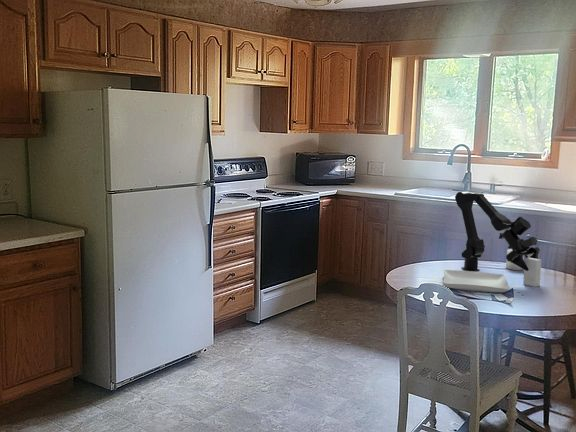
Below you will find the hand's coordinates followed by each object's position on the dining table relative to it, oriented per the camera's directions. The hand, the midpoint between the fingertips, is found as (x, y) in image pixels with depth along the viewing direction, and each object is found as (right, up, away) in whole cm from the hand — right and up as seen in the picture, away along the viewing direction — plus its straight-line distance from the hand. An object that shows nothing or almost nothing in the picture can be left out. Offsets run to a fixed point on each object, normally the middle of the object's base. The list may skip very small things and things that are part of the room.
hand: (533, 269), depth 266 cm
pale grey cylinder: (+5, -3, +35) cm, 35 cm away
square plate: (-27, -8, -1) cm, 28 cm away
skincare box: (-1, -7, +2) cm, 8 cm away
